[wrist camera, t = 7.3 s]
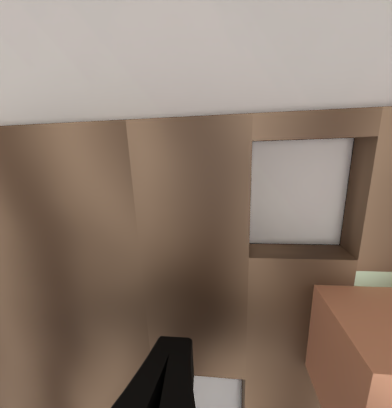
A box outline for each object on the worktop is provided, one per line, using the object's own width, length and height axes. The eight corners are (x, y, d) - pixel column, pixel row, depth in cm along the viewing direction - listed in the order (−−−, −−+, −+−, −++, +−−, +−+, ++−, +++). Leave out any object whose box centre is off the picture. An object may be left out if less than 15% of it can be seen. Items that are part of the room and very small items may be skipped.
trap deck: (19, 403, 16) (0, 428, 15) (-65, 133, 12) (-105, 131, 10) (391, 443, 14) (411, 478, 12) (480, 106, 9) (531, 99, 7)
